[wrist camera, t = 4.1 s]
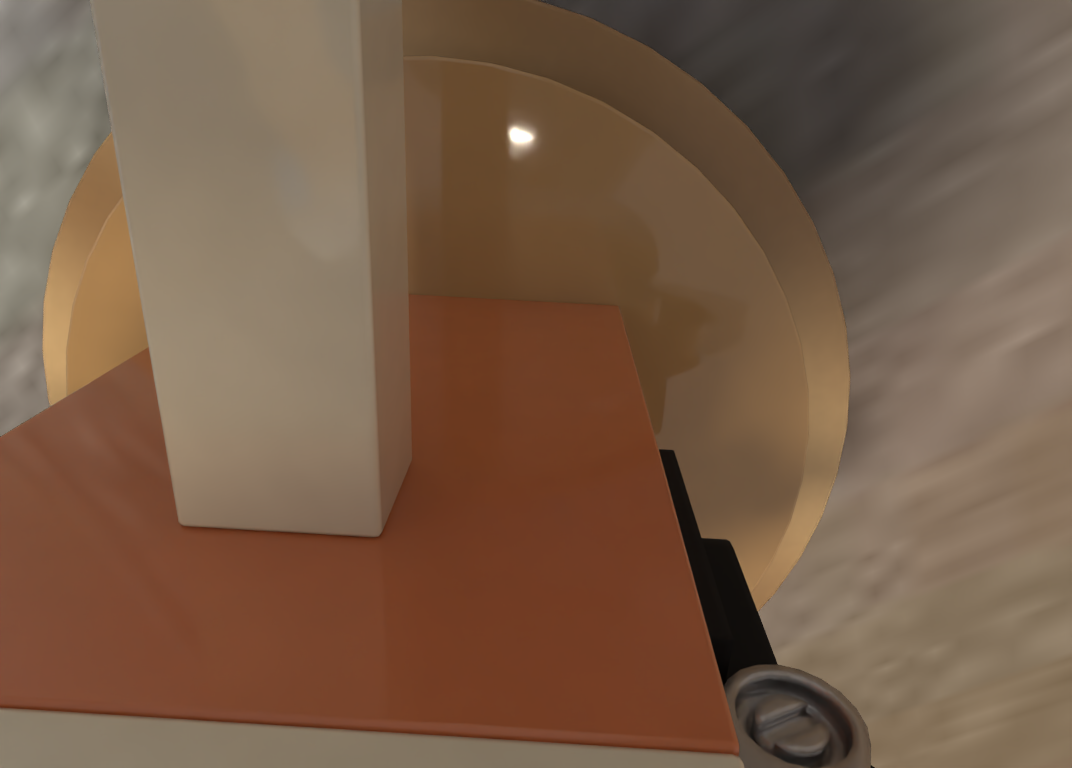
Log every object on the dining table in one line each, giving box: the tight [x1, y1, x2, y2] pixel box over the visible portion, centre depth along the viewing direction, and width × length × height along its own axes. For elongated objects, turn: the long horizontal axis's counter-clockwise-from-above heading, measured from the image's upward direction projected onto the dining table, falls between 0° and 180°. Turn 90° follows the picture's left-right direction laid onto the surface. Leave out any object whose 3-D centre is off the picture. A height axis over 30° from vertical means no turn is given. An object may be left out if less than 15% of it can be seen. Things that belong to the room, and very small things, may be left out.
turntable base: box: [43, 0, 850, 611], centre depth 14 cm, size 15×15×1 cm
